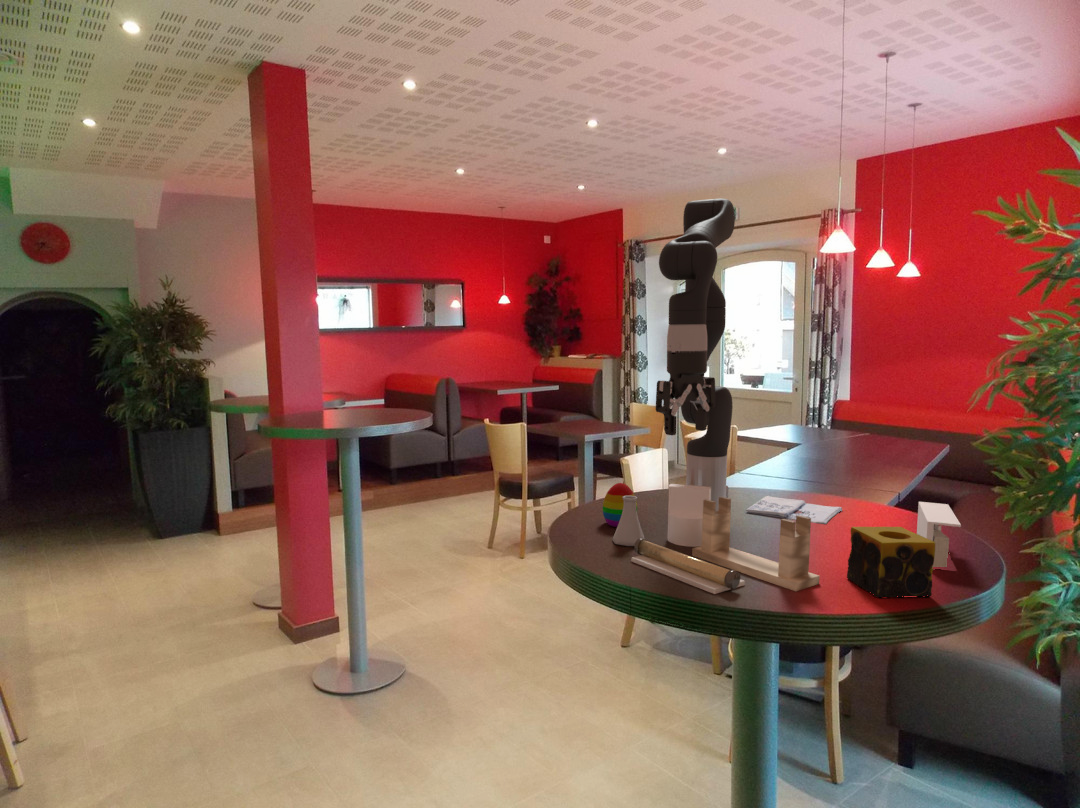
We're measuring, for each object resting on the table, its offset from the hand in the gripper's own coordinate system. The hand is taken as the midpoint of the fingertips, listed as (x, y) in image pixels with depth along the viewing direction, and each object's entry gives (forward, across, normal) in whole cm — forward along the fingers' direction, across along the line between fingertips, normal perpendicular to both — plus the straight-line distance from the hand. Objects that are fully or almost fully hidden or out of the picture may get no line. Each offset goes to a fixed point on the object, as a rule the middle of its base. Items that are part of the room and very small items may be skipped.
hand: (685, 432), depth 132 cm
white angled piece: (+28, -46, +27) cm, 60 cm away
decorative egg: (+26, -8, -28) cm, 39 cm away
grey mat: (+26, +5, +5) cm, 26 cm away
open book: (+29, -55, -12) cm, 63 cm away
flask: (+26, 0, -16) cm, 31 cm away
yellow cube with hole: (+27, -19, +30) cm, 45 cm away
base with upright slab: (+26, -12, -10) cm, 31 cm away
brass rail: (+25, +5, +5) cm, 26 cm away
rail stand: (+26, -8, +10) cm, 29 cm away
